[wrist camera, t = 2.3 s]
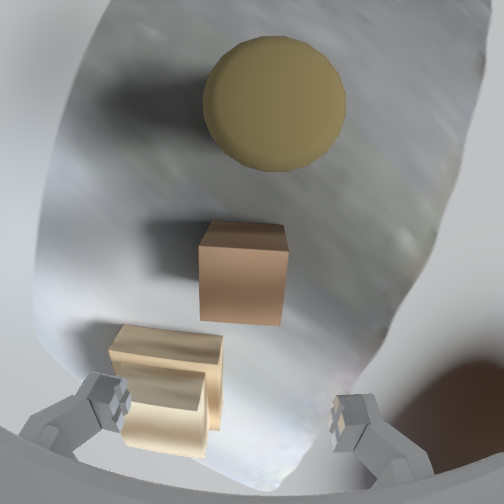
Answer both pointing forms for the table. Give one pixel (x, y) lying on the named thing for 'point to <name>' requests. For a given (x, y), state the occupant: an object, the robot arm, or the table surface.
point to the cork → (274, 104)
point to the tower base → (175, 357)
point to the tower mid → (166, 410)
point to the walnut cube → (242, 273)
